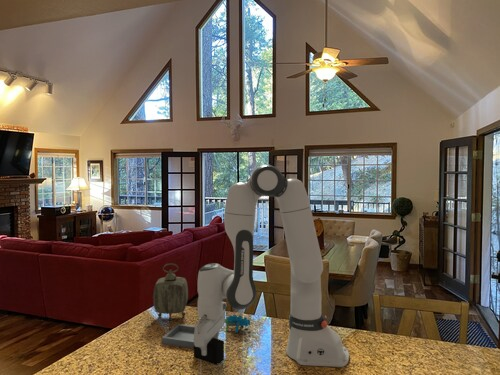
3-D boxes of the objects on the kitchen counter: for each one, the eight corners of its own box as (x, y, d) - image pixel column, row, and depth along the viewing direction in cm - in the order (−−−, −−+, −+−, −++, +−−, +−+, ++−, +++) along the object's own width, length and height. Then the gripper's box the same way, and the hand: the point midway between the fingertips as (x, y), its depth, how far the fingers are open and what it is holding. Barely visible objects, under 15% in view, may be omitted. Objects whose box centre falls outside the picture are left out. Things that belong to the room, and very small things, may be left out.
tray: (212, 334, 153) (212, 328, 153) (198, 349, 140) (198, 342, 140) (178, 329, 157) (178, 323, 157) (161, 343, 144) (161, 337, 144)
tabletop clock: (188, 314, 173) (187, 260, 172) (186, 322, 164) (185, 266, 163) (156, 315, 172) (155, 261, 171) (152, 323, 163) (151, 266, 162)
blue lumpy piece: (253, 323, 159) (246, 313, 152) (251, 337, 155) (243, 327, 148) (230, 323, 163) (221, 313, 156) (227, 337, 159) (218, 327, 152)
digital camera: (226, 358, 133) (226, 339, 133) (217, 365, 129) (217, 345, 128) (203, 351, 139) (203, 332, 138) (193, 357, 134) (193, 338, 134)
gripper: (206, 322, 122) (206, 364, 123) (228, 301, 142) (228, 337, 143) (188, 320, 124) (189, 361, 125) (212, 299, 144) (212, 335, 144)
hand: (210, 348), depth 134 cm, fingers open, 8 cm apart
